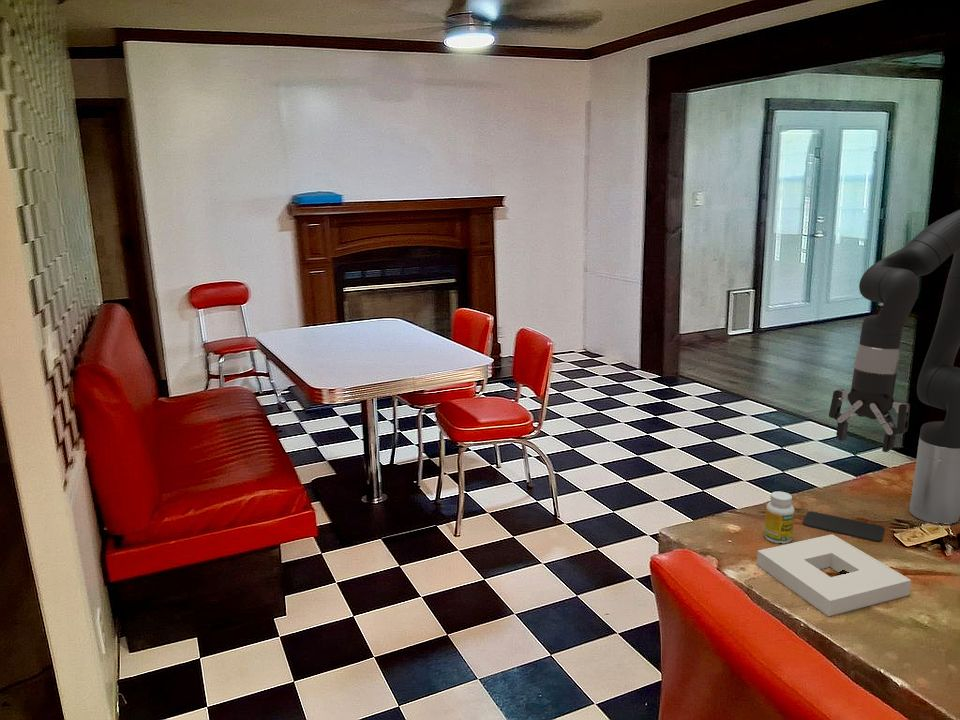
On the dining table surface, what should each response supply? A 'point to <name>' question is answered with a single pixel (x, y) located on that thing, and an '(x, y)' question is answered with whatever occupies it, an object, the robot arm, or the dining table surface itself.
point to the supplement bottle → (779, 518)
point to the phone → (844, 526)
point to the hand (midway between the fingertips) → (863, 445)
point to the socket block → (838, 593)
